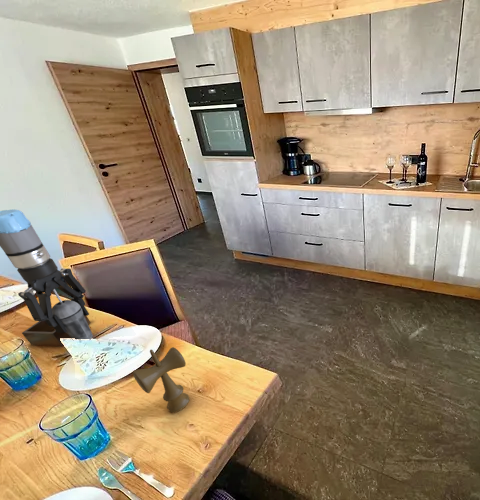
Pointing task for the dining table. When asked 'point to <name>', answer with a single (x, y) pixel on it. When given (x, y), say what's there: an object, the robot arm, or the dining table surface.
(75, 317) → the beverage cup
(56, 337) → the crate
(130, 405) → the dining table surface
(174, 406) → the kendama
